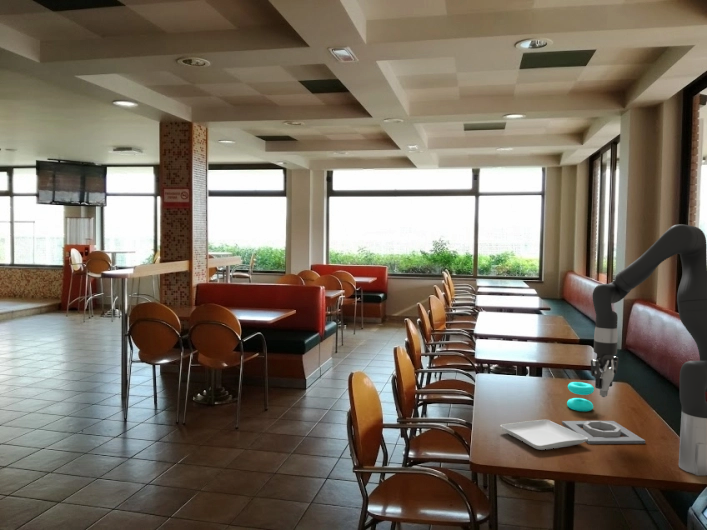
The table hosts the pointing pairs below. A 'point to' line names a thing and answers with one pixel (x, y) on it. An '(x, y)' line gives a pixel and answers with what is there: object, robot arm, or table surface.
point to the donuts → (580, 403)
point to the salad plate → (543, 434)
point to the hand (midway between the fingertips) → (603, 387)
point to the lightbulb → (606, 381)
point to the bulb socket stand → (603, 432)
